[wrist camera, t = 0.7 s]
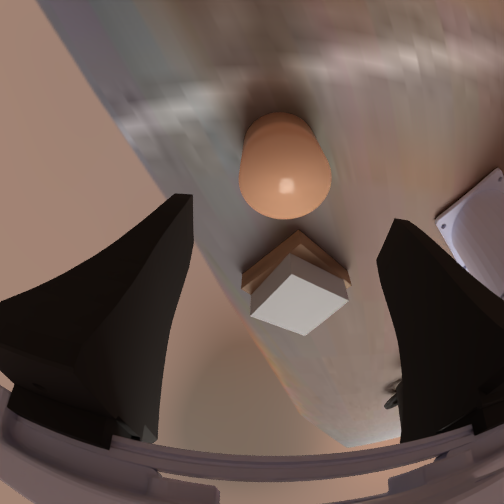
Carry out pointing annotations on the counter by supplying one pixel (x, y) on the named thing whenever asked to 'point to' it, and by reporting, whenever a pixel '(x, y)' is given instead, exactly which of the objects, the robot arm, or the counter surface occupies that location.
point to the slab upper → (298, 296)
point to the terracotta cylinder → (283, 167)
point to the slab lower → (298, 247)
